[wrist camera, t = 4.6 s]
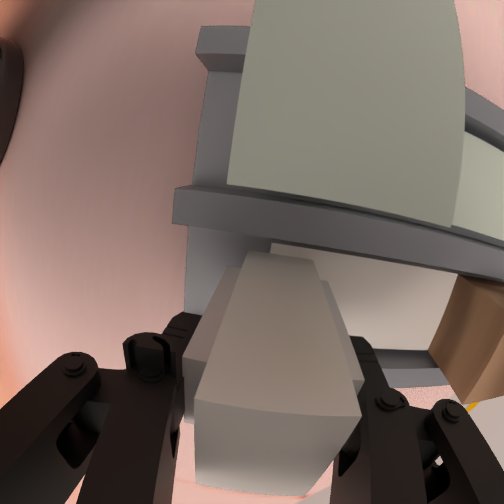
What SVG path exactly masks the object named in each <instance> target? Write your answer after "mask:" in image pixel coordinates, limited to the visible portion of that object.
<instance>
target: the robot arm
mask: <svg viewBox="0 0 504 504" xmlns="http://www.w3.org/2000/svg"><path fill="white" fill-rule="evenodd" d="M22 78H23V56H22V51H21V48H20V46H19V45H18V44H17V43H16V42H14V41H11V40H7V39H4V38H0V162H1V159H2V157H3V155H4V152H5V149H6V147H7V144H8V141H9V138H10V134H11V131H12V128H13V124H14V120H15V116H16V112H17V108H18V103H19V98H20V93H21V87H22ZM240 271H241V268H238V267H232V266H227V268H226V270H225V272H224V274H223V276H222V278H221V280H220V282H219V284H218V286H217V288H216V290H215V292H214V294H213V296H212V298H211V300H210V302H209V304H208V306H207V308H206V310H205V312H204V314H203V316H202V315H197V314H191V313H187V312H181V313H180V314H178V315H176V316H174V317H173V318H172V319H171V321H170V322H169V324H168V325H167V327H166V328H165V330H164V331H163V334H157V333H149V332H144V333H139V334H135V335H132V336H130V337H128V338H127V339H126V340H125V341H124V342H123V350H124V356H125V363H126V369H124V370H114V369H102V368H98V365H97V363H96V361H95V359H94V358H93V357H91V356H90V355H89V354H86V353H83V352H70V353H66V354H63V355H62V356H60V357H58V358H57V359H56V360H55V361H54V362H52V363H51V364H50V365H49V366H48V367H47V368H45V369H44V370H43V371H42V372H41V373H40V374H39V375H37V376H36V377H35V378H34V379H33V380H32V381H31V382H30V383H28V384H27V385H26V386H25V387H24V388H23V389H22V390H21V391H19V392H18V393H17V394H16V395H15V396H14V397H13V398H12V399H11V400H10V401H9V402H7V403H6V404H5V405H4V406H3V407H2V408H1V409H0V504H65V502H66V501H67V499H68V498H69V496H70V495H71V493H72V492H73V491H74V489H75V488H76V486H77V485H78V483H79V482H80V481H81V479H82V478H83V476H84V475H85V477H84V480H83V483H82V486H81V489H80V493H79V496H78V499H77V503H76V504H171V502H172V493H173V484H174V476H175V468H176V460H177V453H178V445H179V438H180V427H179V425H180V422H181V420H182V417H183V414H184V422H186V423H190V424H194V397H195V395H196V392H197V389H198V386H199V383H200V381H201V378H202V375H203V372H204V370H205V367H206V364H207V361H208V359H209V356H210V353H211V350H212V348H213V345H214V342H215V339H216V336H217V334H218V331H219V328H220V325H221V323H222V320H223V317H224V314H225V312H226V309H227V306H228V304H229V301H230V298H231V295H232V293H233V290H234V287H235V284H236V282H237V279H238V276H239V273H240ZM320 281H321V284H322V287H323V290H324V292H325V295H326V298H327V301H328V304H329V307H330V310H331V313H332V316H333V319H334V322H335V326H336V329H337V332H338V335H339V338H340V341H341V345H342V348H343V351H344V354H345V358H346V361H347V364H348V368H349V371H350V375H351V378H352V382H353V385H354V389H355V392H356V396H357V399H358V403H359V407H360V411H361V414H362V417H361V419H360V420H359V422H358V424H357V425H356V427H355V428H354V430H353V432H352V433H351V435H350V436H349V438H348V439H347V441H346V442H345V444H344V445H343V447H342V448H341V450H340V451H339V452H338V454H337V455H336V457H335V458H334V463H333V475H332V486H331V495H330V504H504V471H503V469H502V467H501V465H500V464H499V462H498V460H497V458H496V457H495V455H494V453H493V452H492V450H491V448H490V447H489V445H488V443H487V442H486V440H485V439H484V437H483V435H482V434H481V432H480V431H479V429H478V428H477V426H476V425H475V423H474V421H473V420H472V418H471V417H470V415H469V414H468V412H467V411H466V409H465V408H464V407H463V406H462V405H461V404H459V403H457V402H456V401H454V400H450V399H441V400H439V401H437V402H436V403H435V405H434V406H433V408H432V409H431V410H428V409H422V408H417V407H412V406H409V403H408V401H407V399H406V397H405V396H404V395H403V394H402V393H401V392H399V391H397V390H395V389H393V388H390V387H389V385H388V382H387V380H386V378H385V375H384V373H383V371H382V368H381V366H380V364H379V363H378V359H377V357H376V356H375V352H374V350H373V348H372V346H371V344H370V343H369V342H368V341H367V340H366V339H365V338H364V337H361V336H350V335H349V334H348V332H347V329H346V326H345V324H344V321H343V318H342V316H341V313H340V310H339V308H338V305H337V303H336V300H335V298H334V295H333V293H332V290H331V288H330V285H329V283H328V281H324V280H320ZM439 456H441V458H442V460H443V463H442V464H441V465H440V466H439V465H437V464H436V462H435V460H436V459H437V458H438V457H439ZM85 473H86V474H85Z"/></svg>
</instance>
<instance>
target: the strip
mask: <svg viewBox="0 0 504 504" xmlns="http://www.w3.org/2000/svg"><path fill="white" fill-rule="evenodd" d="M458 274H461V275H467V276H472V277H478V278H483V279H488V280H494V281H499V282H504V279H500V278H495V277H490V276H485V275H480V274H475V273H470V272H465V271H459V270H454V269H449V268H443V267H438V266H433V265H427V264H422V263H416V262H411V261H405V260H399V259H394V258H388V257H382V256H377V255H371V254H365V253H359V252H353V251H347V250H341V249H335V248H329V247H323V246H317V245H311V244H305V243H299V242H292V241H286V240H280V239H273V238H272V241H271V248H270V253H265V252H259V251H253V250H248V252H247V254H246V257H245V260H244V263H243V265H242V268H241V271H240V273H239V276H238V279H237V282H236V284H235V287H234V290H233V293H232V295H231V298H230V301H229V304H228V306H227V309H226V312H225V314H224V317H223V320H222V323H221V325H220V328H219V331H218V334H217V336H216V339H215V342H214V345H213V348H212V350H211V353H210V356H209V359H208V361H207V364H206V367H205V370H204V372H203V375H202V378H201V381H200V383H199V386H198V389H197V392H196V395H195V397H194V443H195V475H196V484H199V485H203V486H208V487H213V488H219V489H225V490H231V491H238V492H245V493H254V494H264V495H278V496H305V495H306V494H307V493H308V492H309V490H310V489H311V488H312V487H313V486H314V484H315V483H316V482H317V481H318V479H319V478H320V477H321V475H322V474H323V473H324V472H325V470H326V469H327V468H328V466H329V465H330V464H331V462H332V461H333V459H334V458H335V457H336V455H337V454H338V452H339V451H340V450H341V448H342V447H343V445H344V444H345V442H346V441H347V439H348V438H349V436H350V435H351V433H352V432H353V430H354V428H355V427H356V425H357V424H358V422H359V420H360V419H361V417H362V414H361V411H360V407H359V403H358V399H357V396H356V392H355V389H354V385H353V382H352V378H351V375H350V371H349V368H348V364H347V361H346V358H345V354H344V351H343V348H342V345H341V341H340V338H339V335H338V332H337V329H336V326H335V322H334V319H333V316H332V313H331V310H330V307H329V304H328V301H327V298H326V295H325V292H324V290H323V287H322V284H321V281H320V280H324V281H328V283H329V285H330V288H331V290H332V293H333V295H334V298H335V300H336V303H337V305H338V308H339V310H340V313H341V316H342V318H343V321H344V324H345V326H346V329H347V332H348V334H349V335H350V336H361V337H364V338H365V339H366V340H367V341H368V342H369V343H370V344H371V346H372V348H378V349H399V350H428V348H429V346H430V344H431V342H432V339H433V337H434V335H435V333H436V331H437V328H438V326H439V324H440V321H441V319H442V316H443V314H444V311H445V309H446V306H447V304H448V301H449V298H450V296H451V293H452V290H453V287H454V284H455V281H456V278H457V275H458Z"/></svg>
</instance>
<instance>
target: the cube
mask: <svg viewBox="0 0 504 504" xmlns="http://www.w3.org/2000/svg"><path fill="white" fill-rule="evenodd" d="M428 352H429V353H430V355H431V356H432V358H433V359H434V361H435V362H436V364H437V365H438V367H439V368H440V370H441V371H442V373H443V374H444V376H445V378H446V379H447V381H448V382H449V384H450V385H451V387H452V389H453V390H454V392H455V394H456V395H457V397H458V399H459V400H460V402H461V404H462V405H463V404H469V403H474V402H479V401H483V400H487V399H492V398H496V397H499V396H503V395H504V282H499V281H494V280H488V279H483V278H478V277H472V276H467V275H461V274H458V275H457V278H456V281H455V284H454V287H453V290H452V293H451V296H450V298H449V301H448V304H447V306H446V309H445V311H444V314H443V316H442V319H441V321H440V324H439V326H438V328H437V331H436V333H435V335H434V337H433V339H432V342H431V344H430V346H429V348H428Z"/></svg>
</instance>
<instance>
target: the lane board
mask: <svg viewBox="0 0 504 504" xmlns="http://www.w3.org/2000/svg"><path fill="white" fill-rule="evenodd" d="M249 33H250V27H248V26H201V29H200V34H199V38H198V42H197V47H196V51H195V54H196V55H197V57H198V58H199V59H200V60H201V62H202V63H203V64H204V66H205V67H206V68H207V69H208V71H209V72H208V78H207V84H206V89H205V95H204V101H203V108H202V114H201V121H200V128H199V135H198V142H197V150H196V158H195V166H194V175H193V184H192V185H188V186H184V187H179V188H175V192H174V204H173V217H172V224H179V225H186V226H189V227H188V241H187V256H186V273H185V296H184V312H187V313H191V314H197V315H202V316H203V314H204V312H205V310H206V308H207V306H208V304H209V302H210V300H211V298H212V296H213V294H214V292H215V290H216V288H217V286H218V284H219V282H220V280H221V278H222V276H223V274H224V272H225V270H226V268H227V266H232V267H238V268H242V265H243V263H244V260H245V257H246V254H247V252H248V250H253V251H259V252H265V253H270V248H271V241H272V238H273V239H280V240H286V241H292V242H299V243H305V244H311V245H317V246H323V247H329V248H335V249H341V250H347V251H353V252H359V253H365V254H371V255H377V256H382V257H388V258H394V259H399V260H405V261H411V262H416V263H422V264H427V265H433V266H438V267H443V268H449V269H454V270H459V271H465V272H470V273H475V274H480V275H485V276H490V277H495V278H500V279H504V241H503V240H500V239H497V238H494V237H491V236H488V235H484V234H481V233H478V232H475V231H472V230H468V229H465V228H462V227H458V226H455V225H451V228H449V227H445V226H441V225H438V224H434V223H430V222H426V221H422V220H418V219H414V218H410V217H406V216H402V215H398V214H393V213H389V212H385V211H380V210H376V209H371V208H366V207H361V206H357V205H352V204H347V203H342V202H337V201H331V200H326V199H320V198H315V197H309V196H303V195H297V194H291V193H285V192H279V191H272V190H266V189H259V188H252V187H244V186H237V185H229V184H227V177H228V169H229V162H230V154H231V147H232V140H233V132H234V125H235V118H236V112H237V105H238V99H239V92H240V86H241V80H242V73H243V67H244V61H245V55H246V50H247V44H248V38H249ZM464 131H465V132H467V133H469V134H471V135H473V136H475V137H477V138H479V139H480V140H482V141H484V142H486V143H488V144H490V145H492V146H493V147H495V148H497V149H499V150H500V151H502V152H504V110H503V109H501V108H500V107H498V106H497V105H495V104H494V103H492V102H490V101H489V100H487V99H486V98H484V97H482V96H481V95H479V94H477V93H476V92H474V91H472V90H470V89H468V88H467V87H465V130H464ZM373 350H374V352H375V356H376V357H377V359H378V363H379V364H380V366H381V368H382V371H383V373H384V375H385V378H386V380H387V382H388V385H389V387H390V388H412V387H429V386H442V385H450V384H449V382H448V381H447V379H446V378H445V376H444V374H443V373H442V371H441V370H440V368H439V367H438V365H437V364H436V362H435V361H434V359H433V358H432V356H431V355H430V353H429V352H428V350H399V349H378V348H373Z"/></svg>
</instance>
